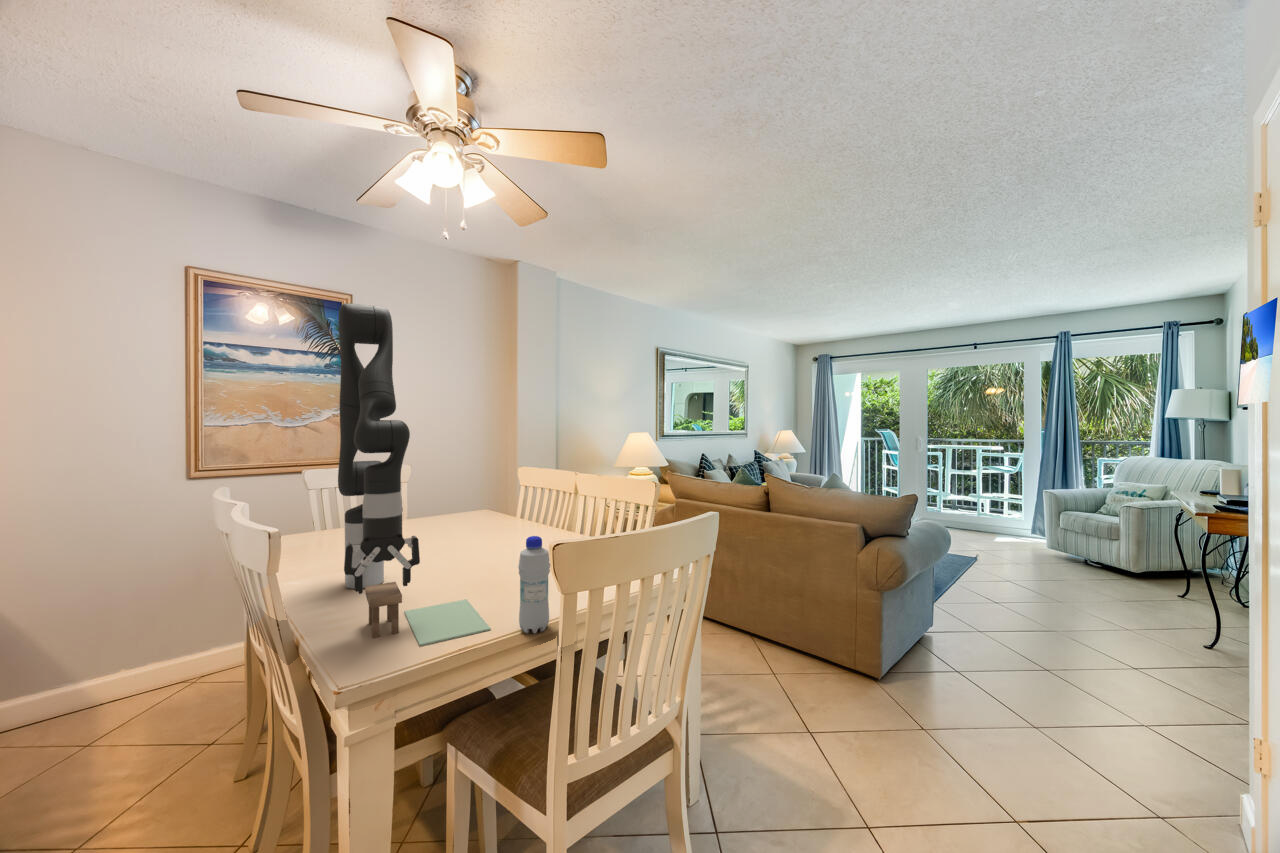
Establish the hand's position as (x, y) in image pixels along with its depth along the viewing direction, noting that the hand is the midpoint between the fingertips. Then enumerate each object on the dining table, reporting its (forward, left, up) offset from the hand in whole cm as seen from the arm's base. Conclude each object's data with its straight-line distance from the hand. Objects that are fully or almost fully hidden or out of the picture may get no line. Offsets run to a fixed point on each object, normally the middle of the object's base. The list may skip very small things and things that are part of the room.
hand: (383, 589), depth 106 cm
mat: (+3, +12, -9) cm, 15 cm away
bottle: (+18, +27, -9) cm, 33 cm away
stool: (0, 0, -9) cm, 9 cm away
